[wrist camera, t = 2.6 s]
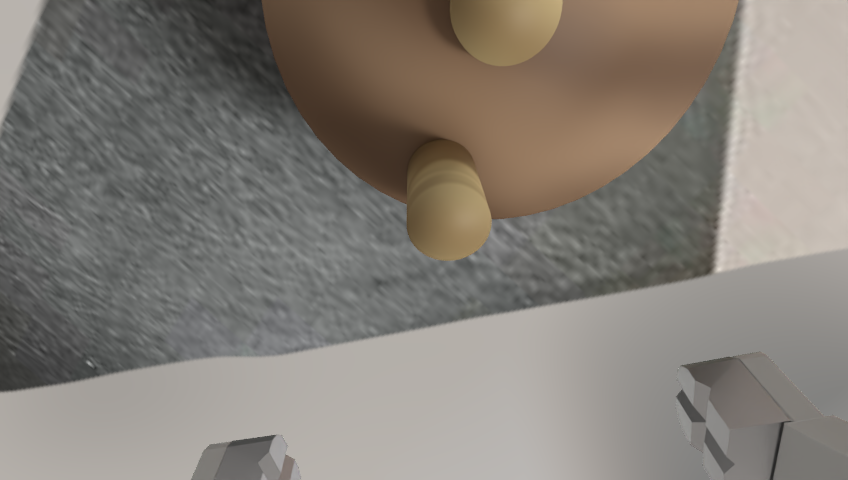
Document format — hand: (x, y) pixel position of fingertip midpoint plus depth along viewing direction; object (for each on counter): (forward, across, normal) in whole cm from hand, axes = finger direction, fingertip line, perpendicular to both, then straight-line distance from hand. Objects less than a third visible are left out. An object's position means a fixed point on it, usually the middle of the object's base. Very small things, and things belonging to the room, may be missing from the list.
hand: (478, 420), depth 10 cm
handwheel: (+15, -4, -6) cm, 17 cm away
